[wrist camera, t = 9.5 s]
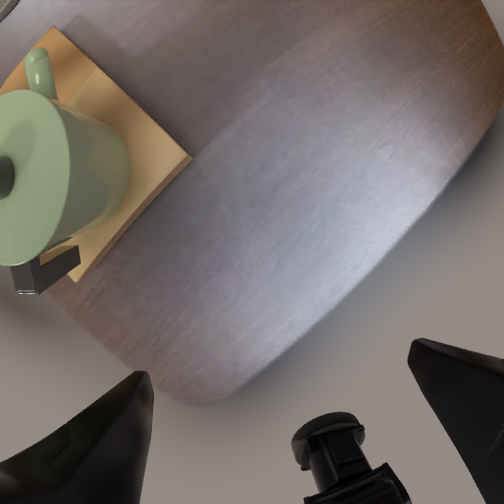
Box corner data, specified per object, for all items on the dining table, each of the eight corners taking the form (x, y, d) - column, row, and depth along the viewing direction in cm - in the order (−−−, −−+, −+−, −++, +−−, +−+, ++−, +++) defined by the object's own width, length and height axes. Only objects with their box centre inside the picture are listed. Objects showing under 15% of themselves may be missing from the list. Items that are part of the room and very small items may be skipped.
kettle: (135, 252, 15) (75, 317, 8) (43, 257, 15) (-41, 308, 7) (133, 68, 13) (77, -4, 5) (38, 90, 12) (-46, 57, 4)
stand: (193, 159, 18) (188, 155, 14) (96, 266, 19) (75, 283, 15) (61, 32, 14) (41, 14, 10) (-15, 130, 14) (-41, 127, 11)
